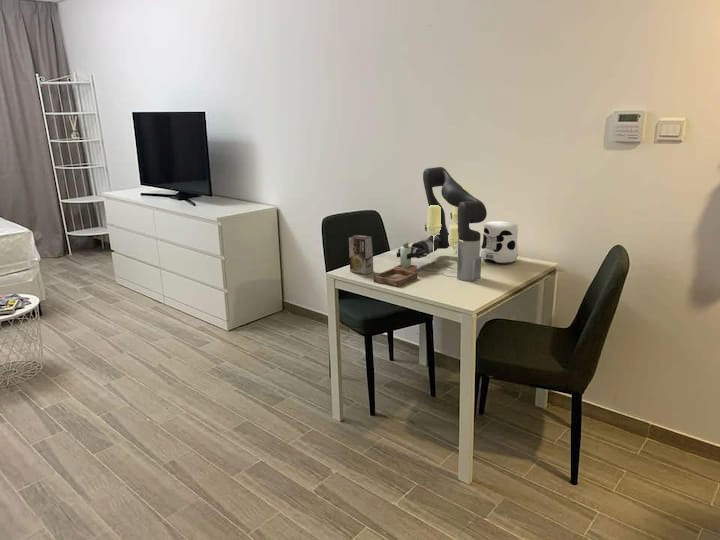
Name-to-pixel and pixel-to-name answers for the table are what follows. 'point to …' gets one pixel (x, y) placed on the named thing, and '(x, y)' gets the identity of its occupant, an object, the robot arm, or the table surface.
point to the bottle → (405, 256)
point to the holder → (412, 269)
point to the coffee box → (361, 254)
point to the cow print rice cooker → (499, 242)
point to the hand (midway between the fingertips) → (402, 256)
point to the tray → (395, 277)
